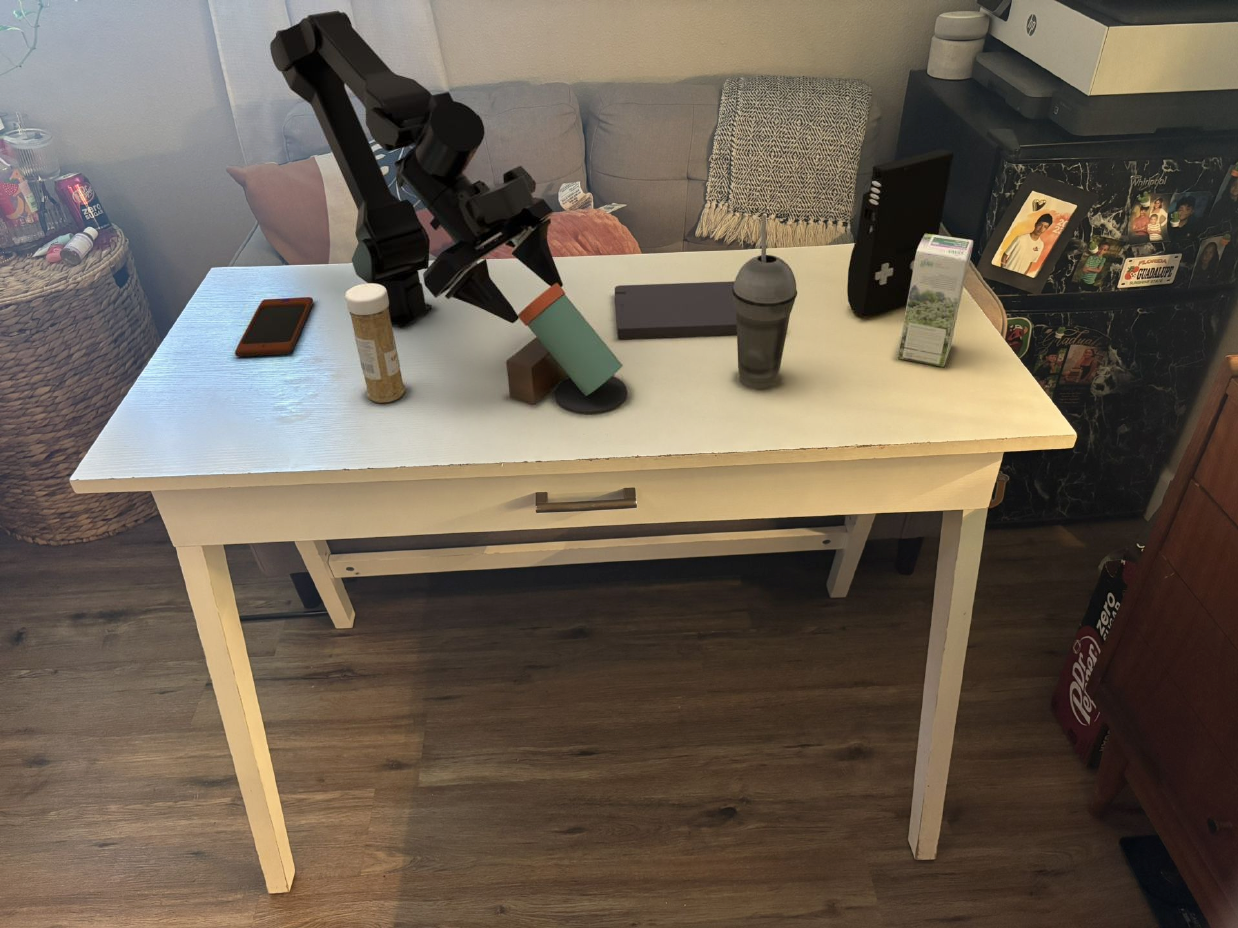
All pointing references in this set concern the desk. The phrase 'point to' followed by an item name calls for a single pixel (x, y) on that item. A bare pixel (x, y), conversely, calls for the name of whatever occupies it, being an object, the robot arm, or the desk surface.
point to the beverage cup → (762, 315)
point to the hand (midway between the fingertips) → (538, 304)
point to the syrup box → (934, 298)
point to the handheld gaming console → (895, 229)
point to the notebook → (675, 310)
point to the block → (533, 373)
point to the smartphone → (274, 327)
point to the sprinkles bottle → (375, 341)
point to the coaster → (591, 396)
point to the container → (570, 339)
